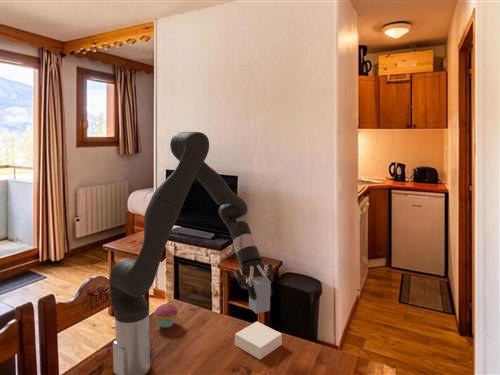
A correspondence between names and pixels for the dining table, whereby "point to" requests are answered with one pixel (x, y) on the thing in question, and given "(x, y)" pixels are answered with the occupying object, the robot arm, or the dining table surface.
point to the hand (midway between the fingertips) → (262, 297)
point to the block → (260, 294)
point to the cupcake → (166, 314)
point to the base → (258, 340)
